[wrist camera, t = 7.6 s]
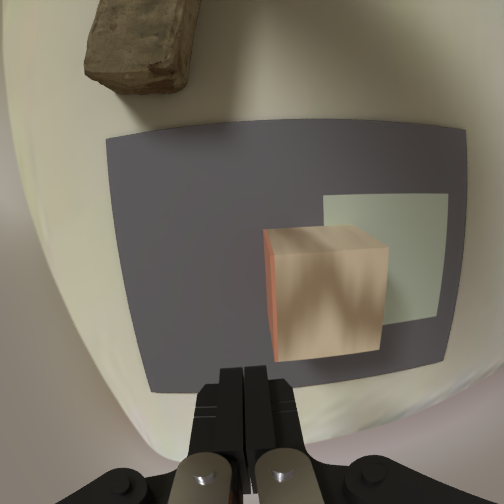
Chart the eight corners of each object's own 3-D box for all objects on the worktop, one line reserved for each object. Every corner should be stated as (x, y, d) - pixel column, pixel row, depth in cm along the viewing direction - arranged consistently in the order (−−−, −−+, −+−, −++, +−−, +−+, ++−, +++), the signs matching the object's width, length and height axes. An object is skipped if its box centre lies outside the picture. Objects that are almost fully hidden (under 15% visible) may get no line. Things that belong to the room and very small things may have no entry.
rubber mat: (107, 139, 19) (105, 139, 19) (463, 130, 19) (465, 129, 19) (152, 390, 25) (151, 392, 24) (441, 358, 25) (443, 360, 25)
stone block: (209, -38, 16) (203, -75, 11) (190, 97, 19) (174, 80, 14) (135, -32, 16) (114, -64, 11) (109, 100, 19) (75, 87, 14)
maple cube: (270, 255, 15) (389, 247, 15) (263, 229, 21) (352, 224, 21) (274, 362, 17) (379, 349, 17) (267, 313, 23) (349, 306, 23)
